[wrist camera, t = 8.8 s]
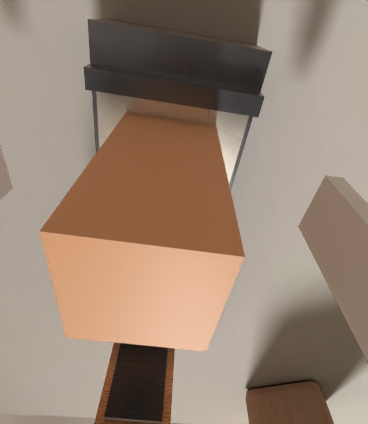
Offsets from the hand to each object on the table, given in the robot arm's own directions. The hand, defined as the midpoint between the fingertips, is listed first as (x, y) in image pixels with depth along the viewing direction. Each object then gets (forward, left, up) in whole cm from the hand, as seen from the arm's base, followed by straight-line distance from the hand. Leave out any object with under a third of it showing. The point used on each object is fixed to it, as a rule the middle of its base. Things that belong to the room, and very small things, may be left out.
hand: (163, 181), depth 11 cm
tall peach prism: (0, 0, -2) cm, 2 cm away
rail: (0, +7, -5) cm, 9 cm away
